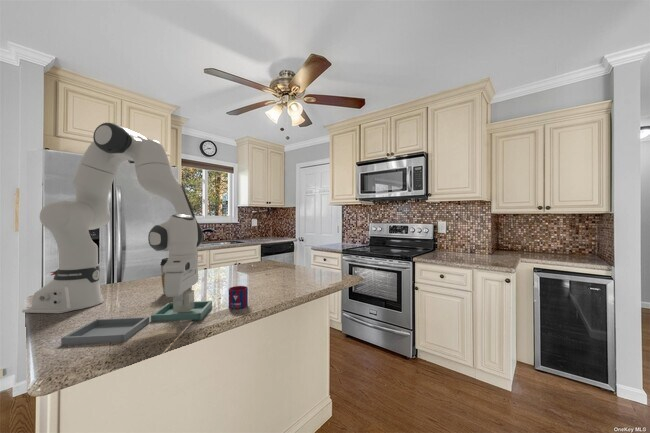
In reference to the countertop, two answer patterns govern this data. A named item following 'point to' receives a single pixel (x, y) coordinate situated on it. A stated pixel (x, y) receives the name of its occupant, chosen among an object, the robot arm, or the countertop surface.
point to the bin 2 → (196, 313)
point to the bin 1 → (106, 331)
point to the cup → (238, 297)
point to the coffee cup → (163, 273)
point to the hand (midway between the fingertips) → (183, 302)
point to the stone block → (185, 302)
